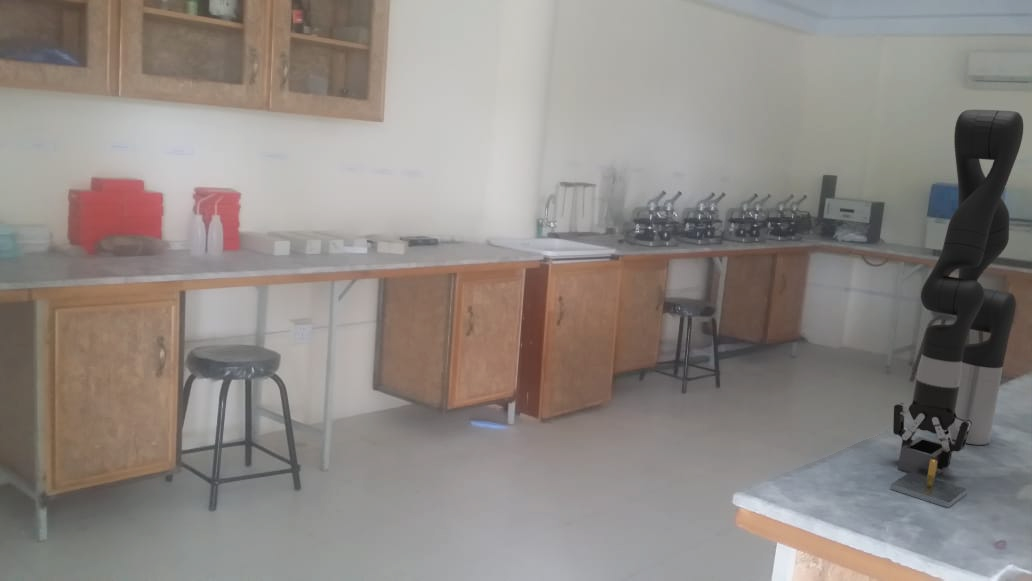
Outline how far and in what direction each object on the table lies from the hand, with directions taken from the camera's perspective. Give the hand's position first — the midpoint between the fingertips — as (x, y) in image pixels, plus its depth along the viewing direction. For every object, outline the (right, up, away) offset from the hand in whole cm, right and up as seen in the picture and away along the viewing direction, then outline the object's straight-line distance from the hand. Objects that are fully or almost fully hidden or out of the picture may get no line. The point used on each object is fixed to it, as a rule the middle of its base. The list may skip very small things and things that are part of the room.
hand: (923, 463), depth 173 cm
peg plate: (-5, -3, -12) cm, 13 cm away
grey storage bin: (0, -1, 0) cm, 1 cm away
